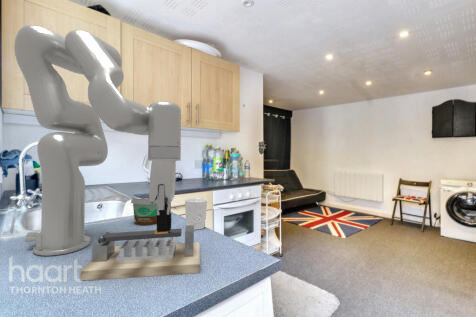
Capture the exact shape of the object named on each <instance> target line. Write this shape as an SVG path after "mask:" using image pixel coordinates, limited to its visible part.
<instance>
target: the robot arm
mask: <svg viewBox="0 0 476 317" xmlns="http://www.w3.org/2000/svg"><path fill="white" fill-rule="evenodd" d="M13 46H14V49H13V50H14V56H15V60H16V63H17V65H18V67H19V69H20V71H21V74H22V76H23V78H24V80H25V82H26V84H27V87H28V93H29V96H30V99H31V105H32V107H33V111H34V114H35V117H36V120H37V123H38V124H39V125H40V126H41V127H43V128H44V129H47V130H52V131H56V132H49V133H46V134H45V135H43V136H42V137H40V138H39V141H38V142H37V145H36V148H37V149H36V150H37V151H36V152H37V156H38V160H39V164H40V165H39V166H40V171H41V220H40V221H41V229H40V230H41V231H40V232H38V231H37V232H33V231H32V232H28V233H27V234H26V236H25V242H27V243H32V242H35V243H36V244H35V245H34V246H33V249H32V253H34V255H37V256H42V257H43V256H46V257H48V256H49V257H50V256H60V255H65V254H70V253H73V252H76V251H78V250H82V249H84V248H86V247H87V246H89V245H90V244H91V237H90V236H88V235H85V217H86V216H85V212H86V211H85V210H86V209H85V208H86V207H85V206H86V203H85V202H86V184H85V183H86V182H85V178H84V176H83V173H82V172H81V170H80V169H79V167H95V166H100V165H101V164H103V163H104V162H105V161H106V159H107V157H108V155H109V149H108V143H107V142H108V141H107V138H106V135H105V131H104V128H103V125H102V123H103V124H105V125H106V127H108V128H110V129H111V130H113V131H116V132H121V133H127V134H133V135H140V136H148V137H147V141H148V142H147V147H148V148H147V160H148V161H151V164H150V172H149V189H148V190H149V192H148V197H149V203H150V204H153V203H154V202H155V201H156V200H157V224H156V229H157V231H170V230H171V229H172V201H173V200H174V198H175V193H176V166H177V165H176V163H177V162H176V161H178V162H180V161H181V155H182V154H181V151H182V150H181V149H182V148H181V147H182V143H181V142H182V110H181V107H180V105H178V104H176V103H174V102H170V101H154V102H152V103H150V104H149V105H144V104H141V103H138V102H136V101H133V100H129V99H127V98H125V96H123V95H122V94H121V92H120V91H119V89H118V88H119V87H120V86H121V85H122V83H123V81H124V79H125V77H124V76H125V75H124V72H123V69H121V67H122V64H123V63H122V61H123V60H122V56H121V54H120V52H119V51H118V50H117V49H116V48H115V47H114V46H113V45H111V44H110V43H108V42H107V41H105V40H103V39H101V38H99V37H98V36H96V35H94V34H93V33H91V32H88V31H86V30H81V29H73V30H71V31H69V32H67V33H66V35H65V36H63V35H61V34H59V33H57V32H55V31H53V30H50V29H49V28H46V27H43V26H39V25H36V24H27V25H24V26H22V27H21V28H20V29H19V30H18V31H17V33H16V36H15V39H14V45H13ZM53 65H54V66H56V67H59V68H61V69H64V70H67V71H69V72H72V73H75V74H78V75H83V76H84V77H85V78H86V80H87V81H88V85H87V86H88V87H87V97H88V102H89V104H90V105H89V104H87V103H83V102H80V101H78V100H74V99H72V98H71V96H70V95H69V92H68V89H67V84H66V83H65V81H64V79H63V77H62V76H61V75H60V73H59V72H58V71H57V70H56V68H55V67H54V66H53ZM101 121H102V122H101Z"/></svg>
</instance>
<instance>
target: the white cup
mask: <svg viewBox="0 0 476 317" xmlns="http://www.w3.org/2000/svg"><path fill="white" fill-rule="evenodd" d="M184 204H185V206H184V207H185V208H184V209H185V210H184V211H185V213H184V214H185V222H186V223H185V224H186V225H194V231H198V230H197V229H199V230H203V229H204V228H206V219H207V210H208V209H207V207H208V206H207V205H208V199H206V198H205V197H204V198H202V197H191V198H186V199H185V200H184ZM186 225H185V226H186Z"/></svg>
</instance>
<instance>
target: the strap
mask: <svg viewBox="0 0 476 317" xmlns="http://www.w3.org/2000/svg"><path fill="white" fill-rule="evenodd" d="M182 228H183V227H182ZM182 228H171V230H170V231H157V228H156V229H153V230H152V229H151V230H139V231H136V230H135V231H123V232H121V231H120V232H119V231H118V232H108V231H107V232H105V233H104V234H102V235H101V236H100V237H99V238H98V239H97V242H98V243H103V242H110V241H115V242H120V241H122V242H123V241H124V242H125V241H127V240H135V241H137V240H138V239H145V240H148V239H152V238H154V239H159V238H164V239H165V238H169V237H173V238H179V237H182V233H183V229H182Z"/></svg>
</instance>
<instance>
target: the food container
mask: <svg viewBox="0 0 476 317" xmlns="http://www.w3.org/2000/svg"><path fill="white" fill-rule="evenodd" d="M130 203H131V204H132V208H133V218H134V224H135V225H137V226H153V224H154V225H157V200H156V201H155V202H154V203H153V204H150V203H149V196H148V197H142V198H137V197H132V198H131V201H130Z"/></svg>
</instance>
